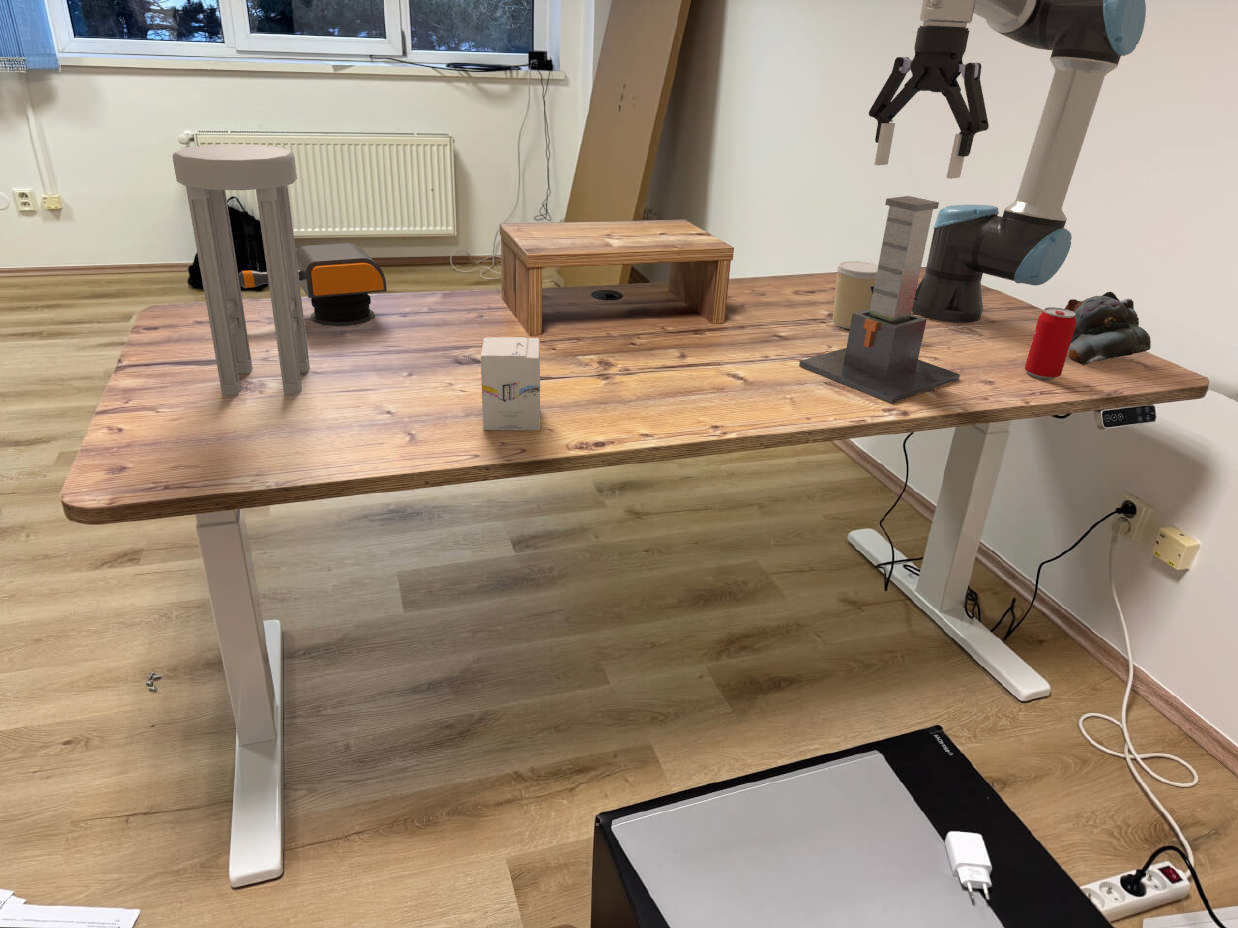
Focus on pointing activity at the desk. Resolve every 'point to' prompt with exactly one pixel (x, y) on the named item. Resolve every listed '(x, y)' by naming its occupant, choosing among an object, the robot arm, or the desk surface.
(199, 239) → the stool
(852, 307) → the coffee cup
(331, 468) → the desk surface
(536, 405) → the ink box
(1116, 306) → the lucky cat figurine
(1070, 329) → the beverage can
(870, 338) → the stand base
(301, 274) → the sander
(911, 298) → the column
